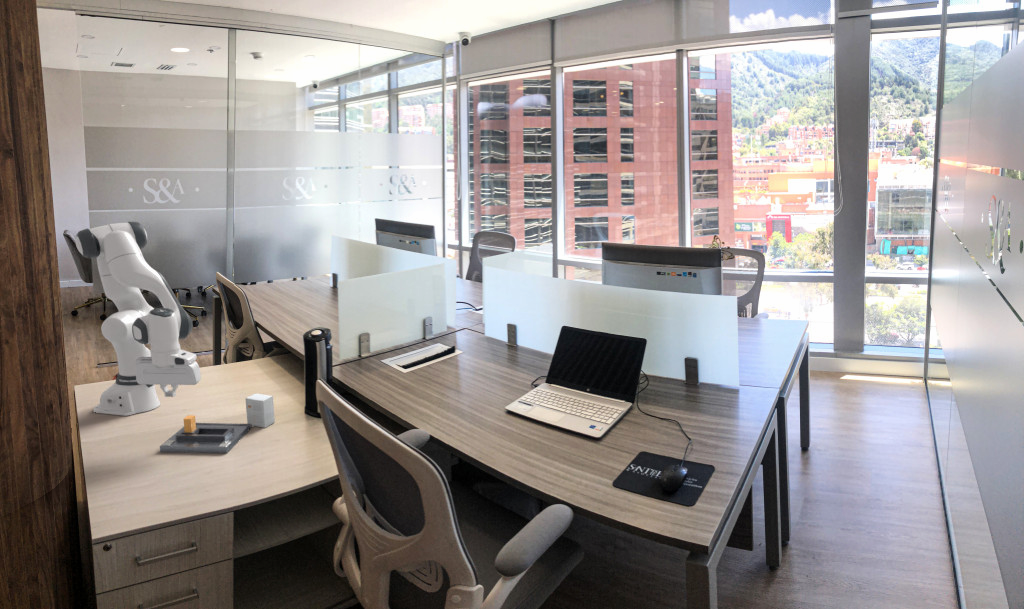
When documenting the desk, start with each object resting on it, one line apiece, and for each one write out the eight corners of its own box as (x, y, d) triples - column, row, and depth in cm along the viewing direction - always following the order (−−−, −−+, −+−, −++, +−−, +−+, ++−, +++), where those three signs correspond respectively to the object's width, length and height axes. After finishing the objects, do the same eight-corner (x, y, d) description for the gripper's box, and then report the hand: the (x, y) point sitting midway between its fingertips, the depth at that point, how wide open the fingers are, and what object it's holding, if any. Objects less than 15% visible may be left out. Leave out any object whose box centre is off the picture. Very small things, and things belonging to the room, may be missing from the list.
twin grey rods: (188, 429, 233) (188, 425, 233) (193, 425, 236) (192, 422, 236) (249, 430, 234) (249, 426, 233) (253, 426, 237) (252, 423, 236)
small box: (275, 422, 241) (273, 395, 239) (264, 428, 236) (263, 400, 234) (257, 419, 244) (255, 392, 241) (246, 425, 238) (245, 397, 236)
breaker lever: (181, 437, 221) (180, 419, 220) (187, 432, 225) (186, 414, 224) (193, 437, 221) (192, 419, 220) (199, 432, 225) (198, 415, 224)
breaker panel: (160, 452, 215) (159, 441, 214) (186, 430, 232) (185, 420, 232) (227, 453, 215) (226, 443, 214) (248, 431, 233) (247, 421, 232)
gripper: (129, 359, 214) (134, 399, 217) (192, 360, 214) (196, 400, 217) (140, 353, 220) (144, 392, 223) (201, 354, 220) (204, 393, 223)
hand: (170, 396), depth 220 cm, fingers closed
